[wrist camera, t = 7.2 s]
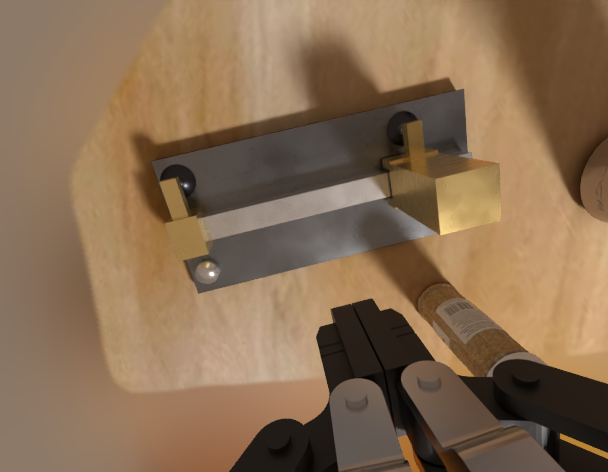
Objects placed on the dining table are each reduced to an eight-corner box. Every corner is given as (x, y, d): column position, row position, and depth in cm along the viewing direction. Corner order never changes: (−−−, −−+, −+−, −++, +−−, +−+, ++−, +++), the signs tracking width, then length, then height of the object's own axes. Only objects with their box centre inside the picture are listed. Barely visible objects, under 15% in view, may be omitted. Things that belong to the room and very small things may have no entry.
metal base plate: (456, 90, 30) (469, 88, 28) (464, 221, 34) (476, 227, 32) (155, 160, 29) (148, 162, 27) (200, 287, 33) (197, 297, 31)
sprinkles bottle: (413, 321, 37) (494, 426, 24) (419, 281, 36) (508, 370, 23) (454, 319, 38) (554, 421, 25) (461, 280, 36) (572, 367, 23)
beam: (459, 107, 29) (480, 106, 27) (463, 180, 31) (484, 186, 29) (161, 178, 28) (150, 184, 25) (185, 248, 30) (178, 261, 27)
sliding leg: (423, 116, 29) (497, 114, 20) (431, 193, 31) (501, 222, 22) (377, 127, 29) (430, 130, 20) (388, 204, 31) (440, 238, 22)
